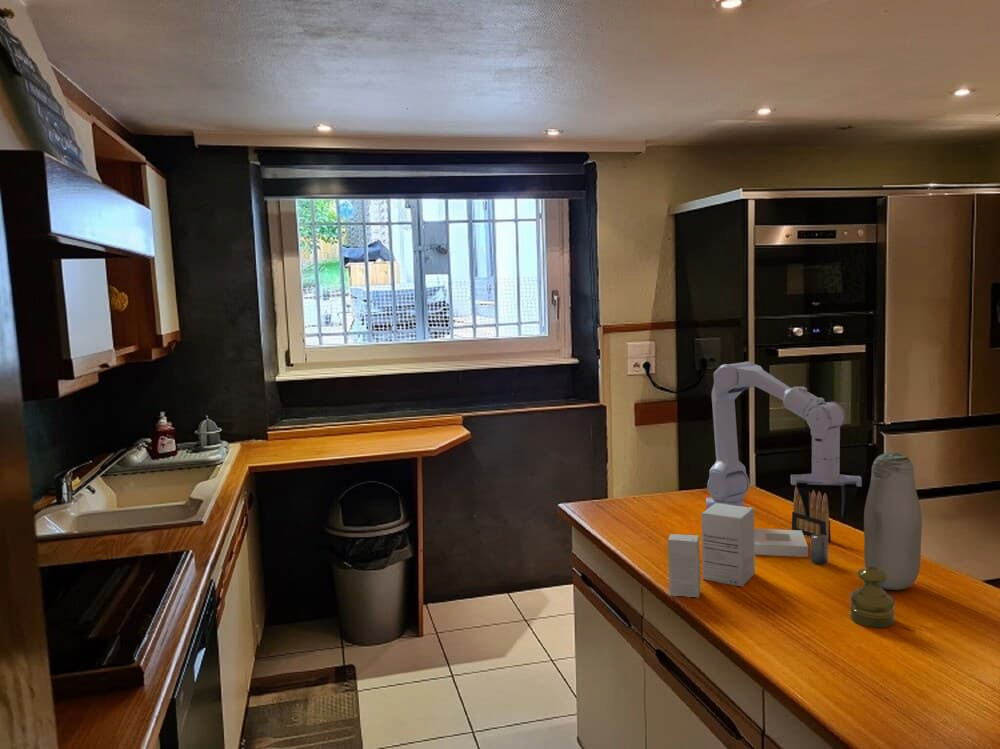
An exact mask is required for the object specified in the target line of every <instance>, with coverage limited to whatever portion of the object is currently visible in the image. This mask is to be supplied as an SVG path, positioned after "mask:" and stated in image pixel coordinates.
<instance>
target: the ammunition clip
mask: <svg viewBox="0 0 1000 749" xmlns="http://www.w3.org/2000/svg"><path fill="white" fill-rule="evenodd" d="M793 494H794V495H793V496H794V497H793V506H792V507H793V511H792V512H791V530H802V533H803V534H804V536H805V535H807V536H806V537H808V536H810V537H809V538H811V535H813V534H822V535H826V536H828V542H830V541H832V539H831V521H830V519H829V518H830V516H829V514H830V512H829V510H830V509H829V501H828V495H827V493H826V492H824V494H823V496H822V493H821V491H820V490H819V491H818V492H817V494H816V491H815V489H813V490H812V492H809V512H810V515H809V517H806V516H805V510H804V505H803V502H802V499H801V496H800V494H799V491H798V489H797V487H796V486H795V489H794V493H793Z"/></svg>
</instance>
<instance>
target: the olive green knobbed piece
mask: <svg viewBox="0 0 1000 749" xmlns="http://www.w3.org/2000/svg"><path fill="white" fill-rule="evenodd" d="M857 576H858V577H859V578H860V579H861V580H862V581H863V585H861V587H859V588H858V589H855V590H853V591H852V592H851V593H850V595H849V600H850V602H851V604H850V605H849V609H850V611H849V612H850V614H849V615H850V616H849V617H850V619H851V620H852V621H853V622H855V623H857V624H859V625H861V626H864V627H869V628H877V629H880V628H881V629H883V628H889V627H891V626H893V625H894V624H895V610H894V609H893V608H895V599H894V598H893V596H892V595H890V594H889V593H887V591H886V590H885V589H884V588H882V587H881V586H880V584H881V583H882V582H883V581H885V580H886V579H887V574H886V573H885V572H883V571H881V570H879V569H877V568H875V567H867V568H866V567H864V568H862V569H858V570H857Z"/></svg>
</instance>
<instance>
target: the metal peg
mask: <svg viewBox="0 0 1000 749" xmlns="http://www.w3.org/2000/svg"><path fill="white" fill-rule="evenodd" d="M828 543H829V541H828V536H826V535H822V534H813V535H811V537H810V563H811V564H813V563H814V564H813V565H817V564H818V566H826V565H828V564H829V561H828V560H829V553H828V552H829V549H828V548H829V544H828ZM827 563H828V564H827ZM825 564H826V565H825Z"/></svg>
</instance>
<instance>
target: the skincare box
mask: <svg viewBox="0 0 1000 749" xmlns="http://www.w3.org/2000/svg"><path fill="white" fill-rule="evenodd" d="M667 552H668V554H667V555H668V584H669V585H668V586H669V587H668V588H669V593H668V594H669V596H670V597H677V596H687V597H686V598H690V597H697V598H696V599H700V595H701V565H700V561H701V560H700V537H699V535H695V534H692V535H691V534H690V535H689V534H675V533H670V535H669V537H668V539H667Z"/></svg>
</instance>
